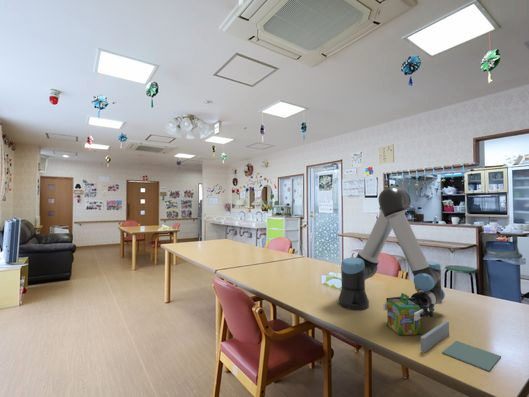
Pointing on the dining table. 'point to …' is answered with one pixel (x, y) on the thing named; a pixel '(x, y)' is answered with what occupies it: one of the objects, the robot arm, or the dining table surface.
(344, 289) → the robot arm
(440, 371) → the dining table surface
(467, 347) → the mat
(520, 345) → the dining table surface
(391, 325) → the chalk box
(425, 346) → the low wall
